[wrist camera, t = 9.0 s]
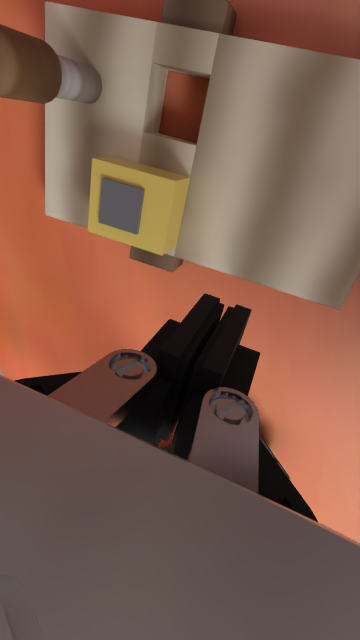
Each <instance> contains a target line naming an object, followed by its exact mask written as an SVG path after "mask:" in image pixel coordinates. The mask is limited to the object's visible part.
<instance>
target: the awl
mask: <svg viewBox="0 0 360 640" xmlns="http://www.w3.org/2000/svg"><path fill="white" fill-rule="evenodd" d="M101 92H102V81H101V77H100V75H99V73H98V72H97V70H96V69H95V68H93V67H92V66H89V65H86V64H83V63H80V62H78V61H75V60H72V59H69V58H66V57H63V56H60V55H57V54H56V53H55V51H54V50H53V48H52V47H51V46H50V45H49V44H48V43H46V42H45V41H43V40H40V39H38V38H35V37H33V36H30V35H27V34H25V33H22V32H19V31H17V30H14V29H11V28H9V27H6V26H4V25H1V24H0V97H3V98H10V99H17V100H24V101H30V102H37V103H48V102H51V101H52V100H53V99H54V98H60V99H66V100H71V101H77V102H83V103H88V104H91V103H94V102H96V101H97V100H98V99H99V97H100V95H101Z"/></svg>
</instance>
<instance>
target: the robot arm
mask: <svg viewBox="0 0 360 640" xmlns="http://www.w3.org/2000/svg"><path fill="white" fill-rule="evenodd" d="M219 302H220V298H217V297H214V296H211V295H208V294H204V295H203V296H202V297H201V298H200V300H199V301H198V302H197V303H196V305H195V306H194V307H193V308H192V310H191V311H190V312H189V313H188V314H187V316H186V317H185V318H184V319H183V321H182V322H181V323H180V322H177V321H174V320H172V319H169V320H168V321H167V322H166V323H165V324H164V325H163V327H162V328H161V329H160V330H159V331H158V332H157V333H156V334H155V336H154V337H153V338H152V339H151V340H150V341H149V342H148V343H147V345H146V346H145V347H144V348H143V349H142V350H141V351H138V350H133V349H121V350H116V351H113V352H111V353H109V354H108V355H106V356H105V357H103V358H102V359H100V360H99V361H98V362H96V363H95V364H93V365H92V366H90V367H89V368H87V369H86V370H84V371H83V372H75V373H67V374H58V375H50V376H41V377H33V378H25V379H20V380H15V381H13V380H11V379H9V378H7V377H4V376H2V375H0V640H360V543H358V542H356V541H354V540H352V539H350V538H348V537H346V536H344V535H342V534H341V533H339V532H337V531H335V530H333V529H331V528H329V527H327V526H325V525H323V524H320V523H318V521H317V519H316V517H315V515H314V514H313V512H312V510H311V509H310V507H309V506H308V505H307V503H306V502H305V500H304V499H303V498H302V496H301V495H300V494H299V492H298V491H297V489H296V488H295V487H294V485H293V484H292V483H291V481H290V480H289V478H288V477H287V476H286V474H285V473H284V472H283V470H282V469H281V467H280V466H279V465H278V463H277V462H276V460H275V459H274V458H273V456H272V455H271V454H270V452H269V451H268V449H267V448H266V447H265V445H264V444H263V443H262V441H261V440H260V438H259V413H258V409H257V407H256V405H255V404H254V402H253V401H252V400H251V399H250V398H249V397H248V393H249V390H250V386H251V383H252V380H253V376H254V373H255V370H256V366H257V363H258V360H259V356H260V352H257V351H254V350H252V349H249V348H246V347H244V346H241V345H239V344H240V341H241V338H242V335H243V333H244V330H245V327H246V324H247V321H248V319H249V316H250V313H251V309H248V308H245V307H243V306H240V305H237V304H236V305H235V307H234V308H233V307H230V306H229V307H228V308H227V310H226V312H225V313H224V315H223V317H222V318H221V315H222V312H223V308H224V304H221V303H219ZM220 318H221V320H220ZM219 321H220V322H219ZM177 422H178V423H177ZM176 424H177V427H176V430H175V434H174V437H173V441H172V444H174V445H175V448H174V451H173V454H172V453H170V452H167V451H165V450H163V449H161V448H159V447H157V446H158V444H159V442H160V440H161V439H163V440H165V441H168V439H169V437H170V435H171V433H172V431H173V430H174V428H175V426H176Z"/></svg>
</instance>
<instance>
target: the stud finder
mask: <svg viewBox="0 0 360 640" xmlns="http://www.w3.org/2000/svg"><path fill="white" fill-rule="evenodd" d="M189 182H190V177H188V176H184V175H180V174H177V173H173V172H169V171H166V170H162V169H158V168H155V167H151V166H147V165H144V164H140V163H136V162H133V161H129V160H126V159H122V158H118V157H115V156H114V157H99V158H92V170H91V186H90V202H89V217H88V232H91V233H94V234H97V235H100V236H103V237H106V238H110V239H113V240H116V241H119V242H122V243H125V244H128V245H131V246H134V247H137V248H140V249H143V250H146V251H149V252H153V253H156V254H159V255H162V256H163V255H164V254H165V253H167V252H168V251H169V250H171V249H172V248H173V247H175V246H176V245H177V241H178V236H179V231H180V226H181V222H182V217H183V212H184V207H185V202H186V197H187V192H188V187H189Z"/></svg>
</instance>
